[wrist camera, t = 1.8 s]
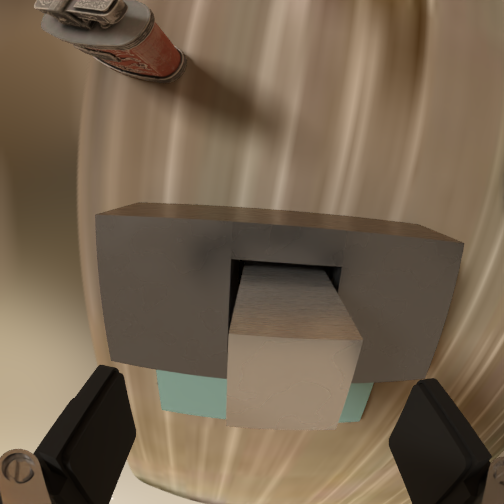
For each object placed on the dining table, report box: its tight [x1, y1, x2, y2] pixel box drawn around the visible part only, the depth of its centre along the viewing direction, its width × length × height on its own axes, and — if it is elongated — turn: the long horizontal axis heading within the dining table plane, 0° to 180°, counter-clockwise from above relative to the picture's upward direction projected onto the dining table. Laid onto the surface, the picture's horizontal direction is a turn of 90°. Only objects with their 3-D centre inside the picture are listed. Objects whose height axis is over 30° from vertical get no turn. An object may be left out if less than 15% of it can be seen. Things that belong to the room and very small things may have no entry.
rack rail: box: [95, 203, 464, 383], centre depth 18 cm, size 20×9×6 cm, turn 86°
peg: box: [226, 260, 363, 430], centre depth 15 cm, size 4×4×12 cm
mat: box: [156, 370, 374, 423], centre depth 23 cm, size 18×8×1 cm, turn 86°
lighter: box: [34, 0, 187, 83], centre depth 13 cm, size 8×3×10 cm, turn 62°
